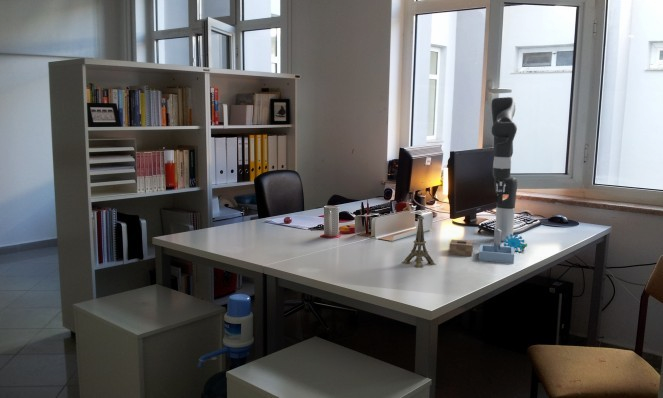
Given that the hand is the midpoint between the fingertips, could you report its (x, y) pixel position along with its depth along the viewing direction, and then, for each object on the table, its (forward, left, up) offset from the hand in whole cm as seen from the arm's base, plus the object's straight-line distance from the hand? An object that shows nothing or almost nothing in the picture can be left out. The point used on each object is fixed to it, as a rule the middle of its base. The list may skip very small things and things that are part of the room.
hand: (499, 202), depth 257 cm
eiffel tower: (+23, -32, -26) cm, 47 cm away
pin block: (-4, -16, -25) cm, 30 cm away
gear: (-19, +8, -26) cm, 33 cm away
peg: (0, 0, -24) cm, 24 cm away
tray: (0, 0, -25) cm, 25 cm away
